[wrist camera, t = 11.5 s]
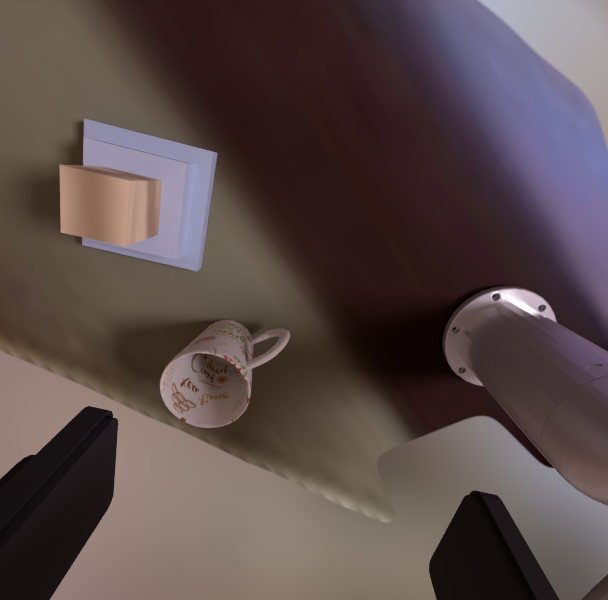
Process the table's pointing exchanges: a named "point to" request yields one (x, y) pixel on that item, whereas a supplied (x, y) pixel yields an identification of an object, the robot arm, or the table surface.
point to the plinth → (198, 193)
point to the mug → (215, 374)
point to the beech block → (109, 204)
